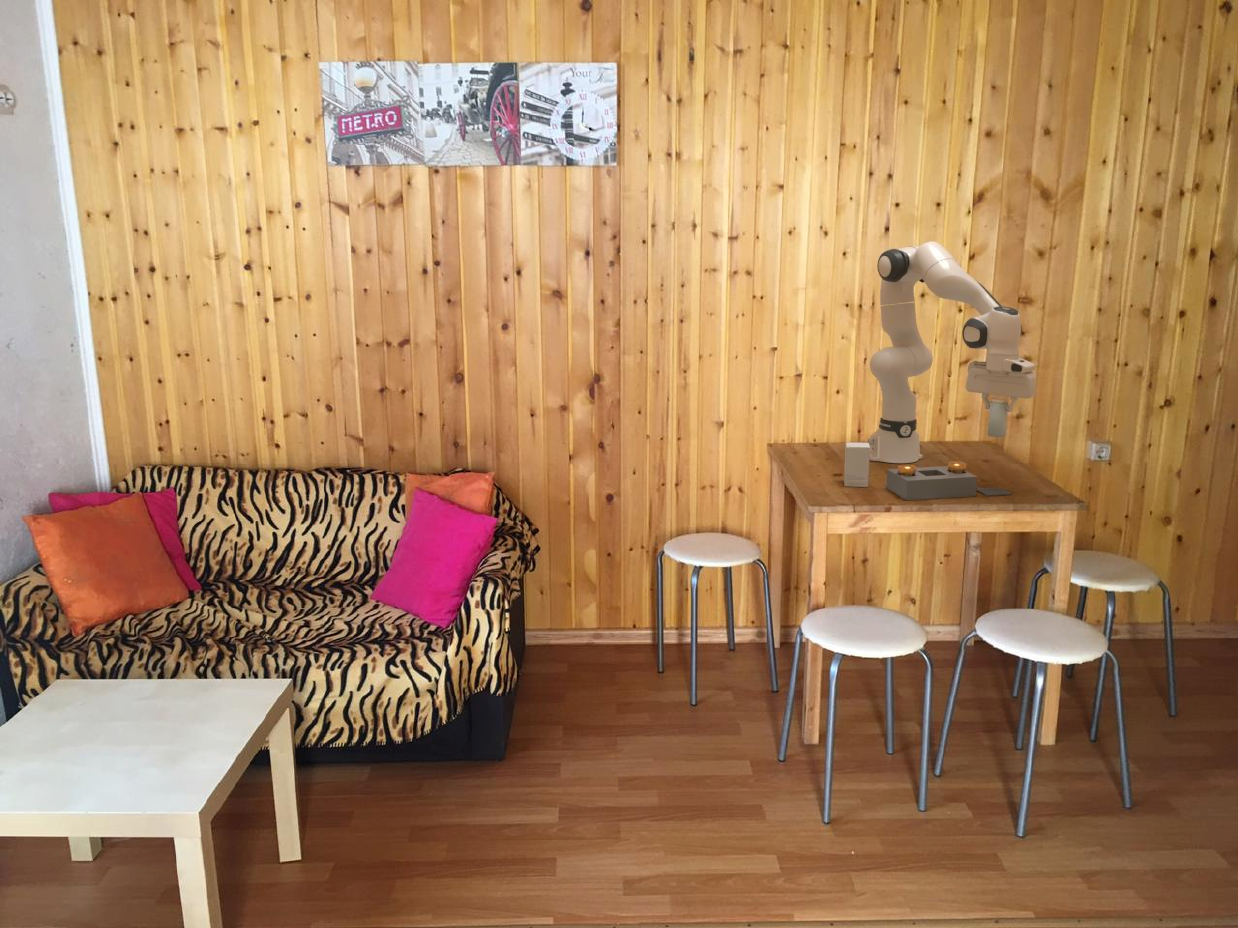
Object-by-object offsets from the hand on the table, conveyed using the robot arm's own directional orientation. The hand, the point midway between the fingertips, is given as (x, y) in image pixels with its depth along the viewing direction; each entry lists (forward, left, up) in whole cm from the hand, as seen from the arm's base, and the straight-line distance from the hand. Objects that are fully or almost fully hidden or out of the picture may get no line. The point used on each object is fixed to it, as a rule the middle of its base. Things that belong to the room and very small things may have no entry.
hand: (998, 410), depth 298 cm
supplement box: (-18, -36, -25) cm, 48 cm away
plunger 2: (-4, -10, -24) cm, 26 cm away
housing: (-4, -18, -25) cm, 31 cm away
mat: (0, 0, -25) cm, 25 cm away
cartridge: (0, 0, -8) cm, 8 cm away
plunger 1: (-4, -26, -24) cm, 36 cm away
